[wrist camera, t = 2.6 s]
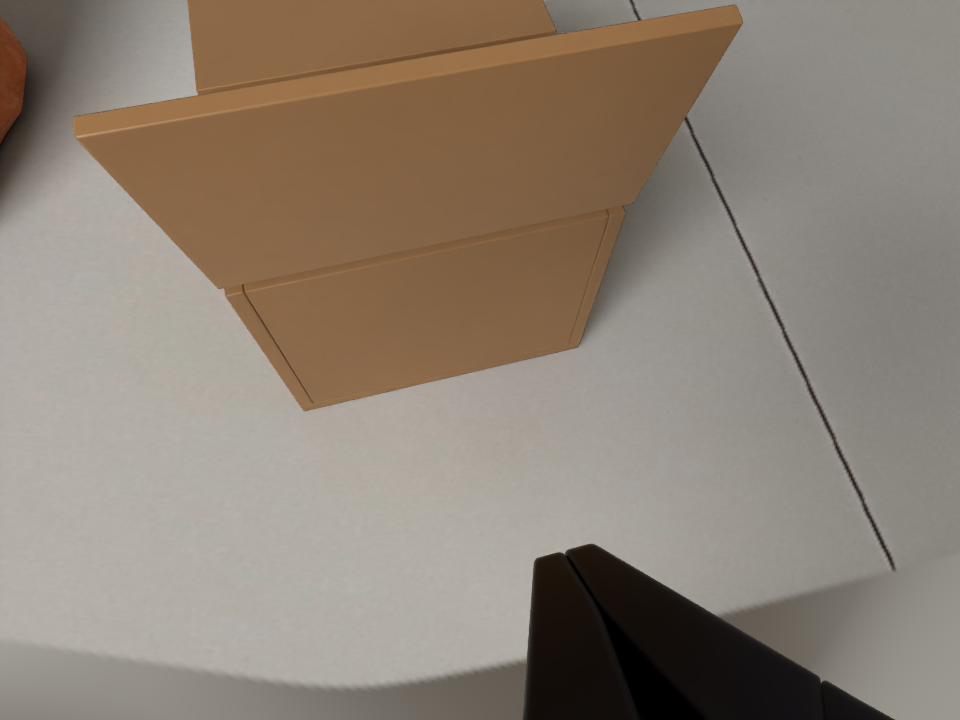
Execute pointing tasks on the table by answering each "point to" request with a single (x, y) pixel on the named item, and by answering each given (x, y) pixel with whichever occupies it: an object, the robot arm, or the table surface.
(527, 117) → the flap
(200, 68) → the carton
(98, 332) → the table surface
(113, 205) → the table surface
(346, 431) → the table surface
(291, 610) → the table surface
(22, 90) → the bread
